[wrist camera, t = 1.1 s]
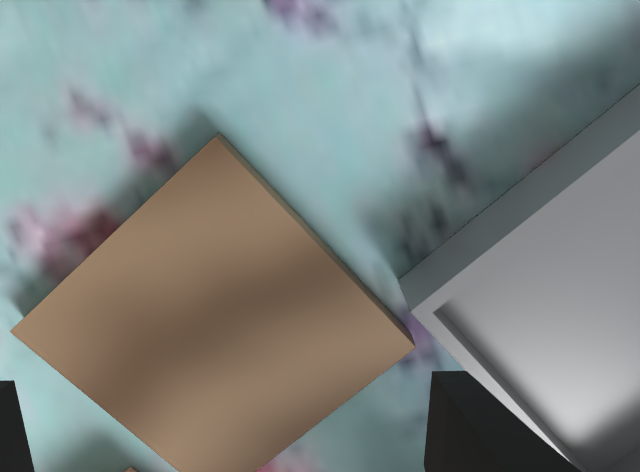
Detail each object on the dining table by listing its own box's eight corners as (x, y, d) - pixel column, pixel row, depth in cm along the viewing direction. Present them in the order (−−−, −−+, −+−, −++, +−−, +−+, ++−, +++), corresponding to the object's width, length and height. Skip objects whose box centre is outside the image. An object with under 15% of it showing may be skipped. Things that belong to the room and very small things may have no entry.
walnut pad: (411, 334, 21) (416, 347, 20) (219, 483, 23) (215, 502, 22) (219, 132, 18) (214, 136, 17) (23, 318, 20) (9, 331, 19)
